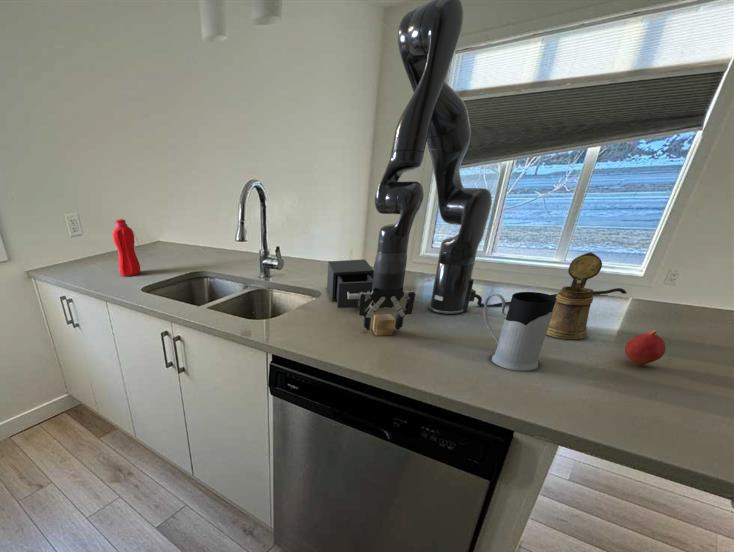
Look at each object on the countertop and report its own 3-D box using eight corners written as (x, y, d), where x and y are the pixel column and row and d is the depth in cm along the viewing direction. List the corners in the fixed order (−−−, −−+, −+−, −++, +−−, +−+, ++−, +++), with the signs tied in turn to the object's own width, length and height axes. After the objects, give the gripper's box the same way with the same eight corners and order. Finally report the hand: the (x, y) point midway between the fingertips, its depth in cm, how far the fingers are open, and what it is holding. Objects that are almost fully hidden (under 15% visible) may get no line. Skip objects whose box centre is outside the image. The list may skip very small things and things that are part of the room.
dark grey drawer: (378, 311, 122) (381, 286, 118) (339, 313, 123) (341, 288, 119) (366, 292, 138) (368, 269, 134) (332, 294, 140) (333, 271, 136)
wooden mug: (587, 324, 104) (615, 253, 95) (584, 342, 96) (613, 266, 87) (545, 318, 110) (567, 250, 101) (538, 335, 101) (562, 262, 92)
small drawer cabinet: (371, 299, 134) (374, 270, 130) (332, 301, 136) (333, 272, 131) (362, 286, 148) (364, 259, 143) (327, 287, 150) (328, 261, 145)
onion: (611, 360, 87) (626, 326, 83) (636, 357, 88) (652, 323, 84) (637, 372, 82) (654, 337, 78) (664, 369, 83) (682, 333, 79)
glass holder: (520, 374, 86) (542, 306, 78) (461, 351, 97) (475, 290, 90) (547, 364, 88) (570, 298, 81) (487, 342, 100) (502, 283, 92)
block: (388, 329, 112) (390, 314, 110) (392, 335, 108) (394, 319, 106) (372, 329, 113) (374, 314, 111) (375, 335, 109) (377, 320, 107)
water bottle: (142, 275, 191) (131, 219, 179) (119, 277, 191) (107, 221, 179) (145, 270, 199) (136, 216, 187) (123, 272, 200) (112, 219, 187)
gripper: (363, 273, 100) (357, 335, 108) (424, 271, 98) (413, 333, 106) (358, 266, 106) (353, 324, 114) (415, 263, 104) (406, 323, 112)
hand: (382, 328), depth 110 cm, fingers open, 7 cm apart
